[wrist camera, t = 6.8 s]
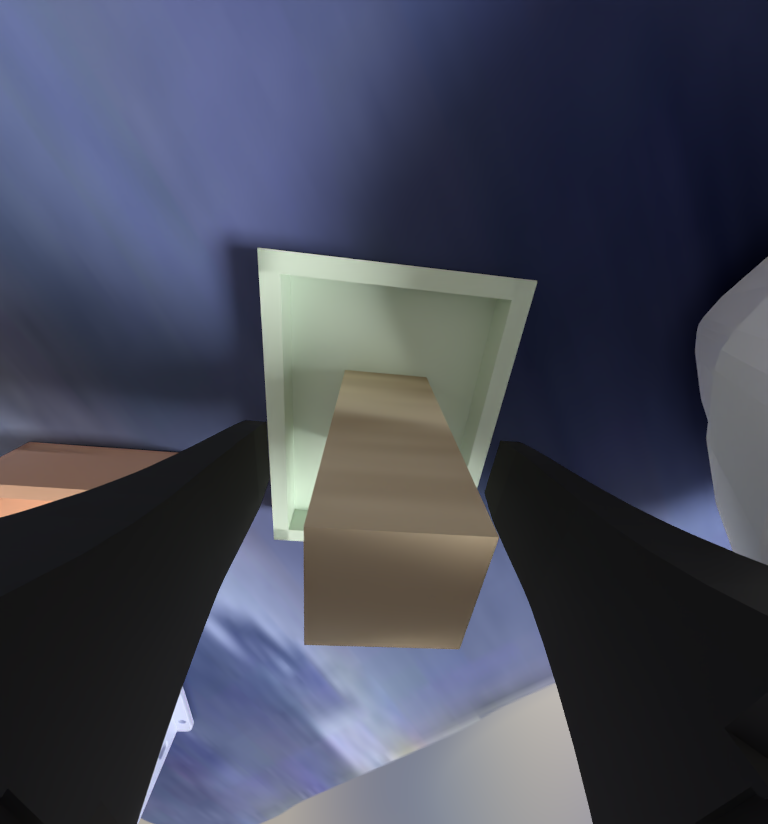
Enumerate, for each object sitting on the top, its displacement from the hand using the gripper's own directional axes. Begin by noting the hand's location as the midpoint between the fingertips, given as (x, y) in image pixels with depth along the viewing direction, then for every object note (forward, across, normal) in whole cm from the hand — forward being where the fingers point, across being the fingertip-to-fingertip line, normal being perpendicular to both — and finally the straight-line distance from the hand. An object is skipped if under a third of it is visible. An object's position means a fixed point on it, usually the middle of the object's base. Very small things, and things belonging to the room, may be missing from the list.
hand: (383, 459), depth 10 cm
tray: (+3, 0, 0) cm, 3 cm away
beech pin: (+3, 0, 0) cm, 3 cm away
